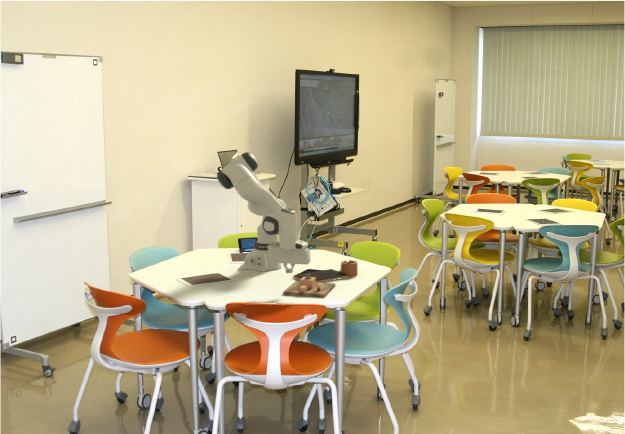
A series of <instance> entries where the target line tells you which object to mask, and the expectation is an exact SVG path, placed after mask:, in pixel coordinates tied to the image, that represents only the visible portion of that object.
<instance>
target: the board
mask: <svg viewBox="0 0 625 434" xmlns="http://www.w3.org/2000/svg"><path fill="white" fill-rule="evenodd" d="M318 283H320V290H319V291H318V290H317V284H318ZM335 287H336V283H335V282H333V283H332V282H322V283H321V282H316V286H315V287H314V288H313V289H308V290H307V291H306V292H299V288H300V280H295V281H294V282H293V283H292V284H290V285H288V287H287V288H286V289H284V290H283V291H282V295H283V296H284V295H285V296H294V297H295V296H296V297H297V296H298V297H310V298H311V297H313V298H326V296H327V295H328V294H329V293H331V292H332V290H333V289H334V288H335Z"/></svg>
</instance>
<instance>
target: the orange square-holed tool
mask: <svg viewBox="0 0 625 434" xmlns="http://www.w3.org/2000/svg"><path fill="white" fill-rule="evenodd" d="M299 281H300V288H299V292H306V291H307V290H308V289H313V288H314V287H315V286H316V277H310V280H307V279H306V277H303V278H302V279H300V280H299Z"/></svg>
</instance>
